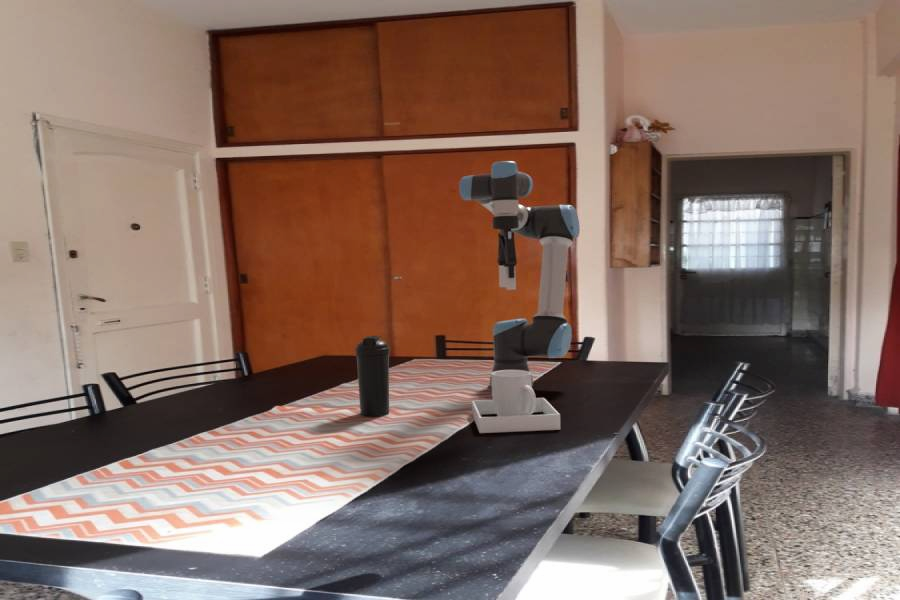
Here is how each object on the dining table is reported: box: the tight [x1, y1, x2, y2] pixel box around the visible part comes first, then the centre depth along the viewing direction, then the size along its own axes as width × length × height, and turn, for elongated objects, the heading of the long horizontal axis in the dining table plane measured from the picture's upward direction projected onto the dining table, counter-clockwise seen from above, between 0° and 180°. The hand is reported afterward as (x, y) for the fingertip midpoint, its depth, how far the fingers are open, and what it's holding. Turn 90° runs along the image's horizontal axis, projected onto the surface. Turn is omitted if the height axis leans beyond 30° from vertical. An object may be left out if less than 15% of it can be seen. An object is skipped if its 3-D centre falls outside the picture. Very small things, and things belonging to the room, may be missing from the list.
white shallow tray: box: [471, 397, 561, 434], centre depth 189 cm, size 21×21×4 cm
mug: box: [490, 370, 537, 417], centre depth 189 cm, size 15×11×13 cm
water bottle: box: [354, 335, 391, 418], centre depth 203 cm, size 10×10×23 cm
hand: (507, 288), depth 202 cm, fingers open, 13 cm apart
